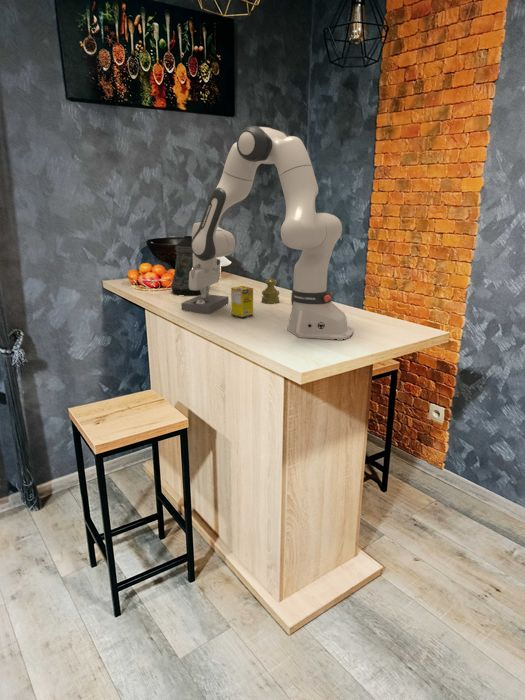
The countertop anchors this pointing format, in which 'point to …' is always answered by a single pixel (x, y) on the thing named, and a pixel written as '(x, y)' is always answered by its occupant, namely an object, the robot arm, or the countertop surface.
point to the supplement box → (242, 302)
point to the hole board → (210, 304)
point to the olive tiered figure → (270, 292)
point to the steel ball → (200, 301)
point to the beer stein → (183, 268)
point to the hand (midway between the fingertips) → (205, 297)
